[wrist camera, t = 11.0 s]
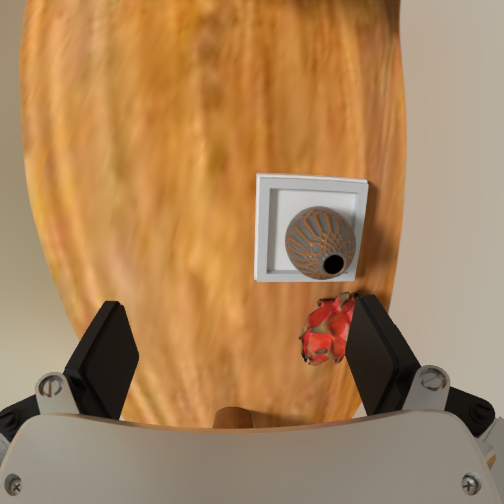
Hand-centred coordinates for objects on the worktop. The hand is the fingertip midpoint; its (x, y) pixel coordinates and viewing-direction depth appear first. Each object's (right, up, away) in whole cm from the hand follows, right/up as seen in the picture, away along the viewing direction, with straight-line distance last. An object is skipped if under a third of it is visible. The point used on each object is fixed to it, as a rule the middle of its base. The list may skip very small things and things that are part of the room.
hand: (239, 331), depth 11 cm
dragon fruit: (+11, -5, +27) cm, 29 cm away
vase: (+7, +5, +21) cm, 23 cm away
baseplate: (+7, +6, +22) cm, 23 cm away
